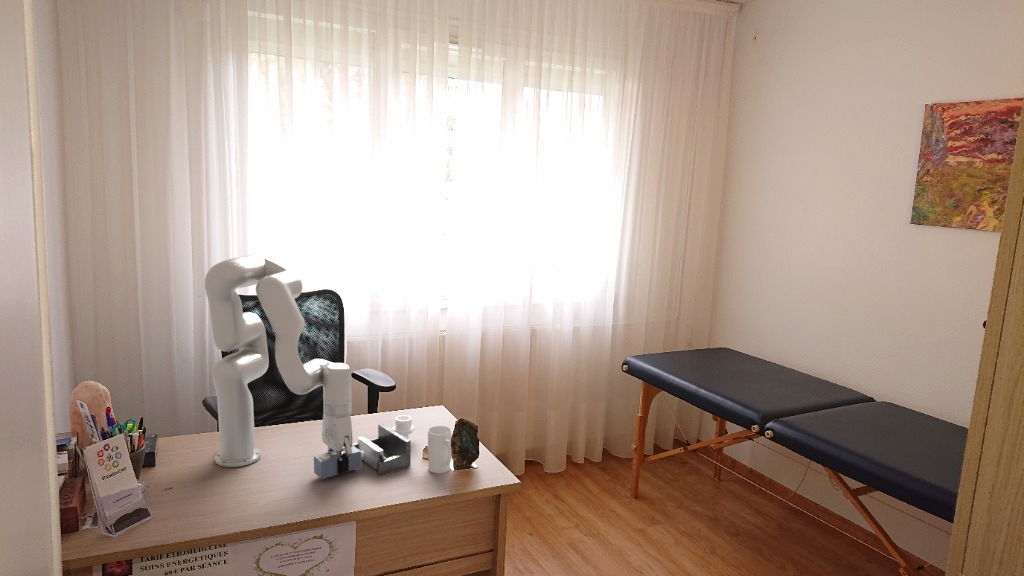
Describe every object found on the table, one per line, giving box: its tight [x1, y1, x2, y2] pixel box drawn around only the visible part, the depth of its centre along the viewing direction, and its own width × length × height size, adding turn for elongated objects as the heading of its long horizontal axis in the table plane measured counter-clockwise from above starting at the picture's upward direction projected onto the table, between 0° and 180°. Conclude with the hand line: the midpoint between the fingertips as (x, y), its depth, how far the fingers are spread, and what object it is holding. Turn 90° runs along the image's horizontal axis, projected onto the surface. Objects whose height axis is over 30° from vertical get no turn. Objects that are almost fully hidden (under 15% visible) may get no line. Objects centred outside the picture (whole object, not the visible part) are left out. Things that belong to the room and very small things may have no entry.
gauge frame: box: [352, 423, 412, 477], centre depth 194 cm, size 10×16×8 cm, turn 41°
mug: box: [427, 425, 452, 474], centre depth 189 cm, size 10×7×12 cm, turn 34°
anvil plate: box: [357, 436, 387, 471], centre depth 191 cm, size 2×15×6 cm, turn 41°
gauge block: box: [313, 446, 365, 480], centre depth 186 cm, size 5×14×5 cm, turn 131°
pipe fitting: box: [391, 414, 415, 440], centre depth 208 cm, size 6×7×8 cm
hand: (338, 468), depth 186 cm, fingers closed on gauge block, 4 cm apart
